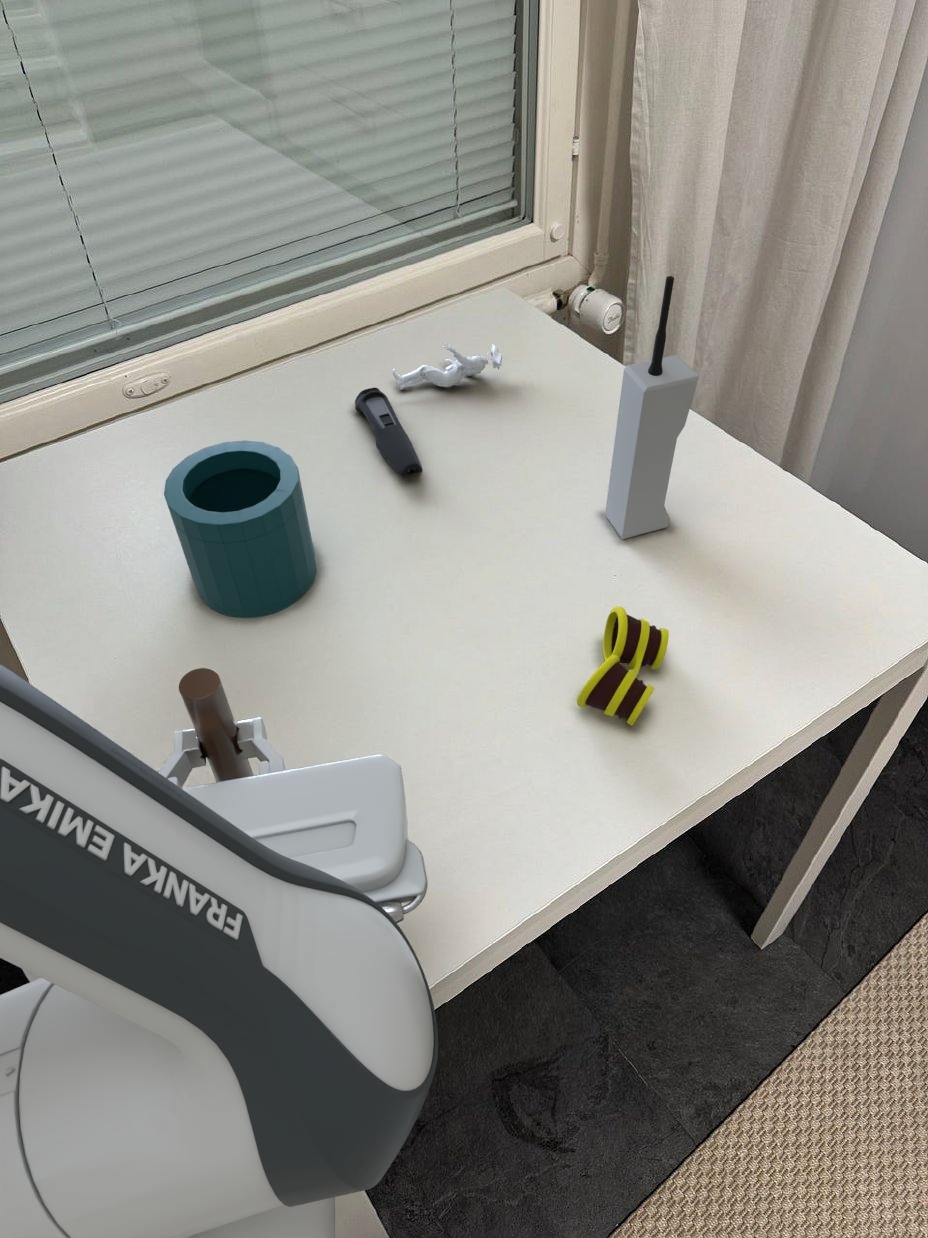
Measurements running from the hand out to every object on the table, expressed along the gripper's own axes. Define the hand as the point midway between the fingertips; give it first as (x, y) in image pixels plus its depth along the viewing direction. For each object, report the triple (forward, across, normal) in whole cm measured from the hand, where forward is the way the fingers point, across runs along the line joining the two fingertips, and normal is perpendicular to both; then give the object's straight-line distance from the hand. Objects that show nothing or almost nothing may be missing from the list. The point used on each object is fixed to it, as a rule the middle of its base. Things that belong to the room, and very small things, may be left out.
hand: (220, 729), depth 53 cm
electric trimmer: (+46, -16, +15) cm, 50 cm away
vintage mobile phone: (+28, -37, +15) cm, 48 cm away
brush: (-1, 0, +14) cm, 15 cm away
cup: (+28, -1, +14) cm, 32 cm away
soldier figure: (+55, -23, +15) cm, 62 cm away
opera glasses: (+9, -30, +15) cm, 34 cm away
